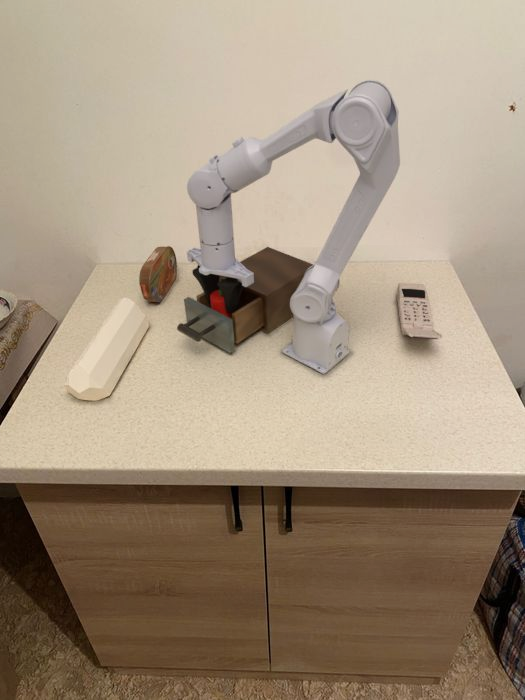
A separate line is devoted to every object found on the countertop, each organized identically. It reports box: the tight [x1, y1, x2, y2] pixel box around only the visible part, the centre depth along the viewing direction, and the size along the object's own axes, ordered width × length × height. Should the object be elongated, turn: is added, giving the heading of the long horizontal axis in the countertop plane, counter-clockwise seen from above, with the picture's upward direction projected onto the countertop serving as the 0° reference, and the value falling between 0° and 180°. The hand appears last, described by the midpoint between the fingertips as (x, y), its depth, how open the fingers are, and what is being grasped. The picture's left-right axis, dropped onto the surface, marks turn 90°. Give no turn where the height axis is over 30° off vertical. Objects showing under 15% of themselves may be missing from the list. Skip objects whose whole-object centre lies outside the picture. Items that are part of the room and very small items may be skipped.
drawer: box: [176, 288, 265, 354], centre depth 94 cm, size 18×11×7 cm, turn 138°
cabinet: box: [219, 246, 314, 335], centre depth 101 cm, size 15×13×9 cm
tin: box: [138, 245, 178, 303], centre depth 107 cm, size 15×3×8 cm, turn 168°
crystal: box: [63, 296, 150, 402], centre depth 89 cm, size 7×7×24 cm
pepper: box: [210, 289, 235, 318], centre depth 91 cm, size 4×4×5 cm
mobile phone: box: [396, 282, 443, 340], centre depth 96 cm, size 6×6×25 cm
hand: (222, 306), depth 92 cm, fingers closed on pepper, 4 cm apart
